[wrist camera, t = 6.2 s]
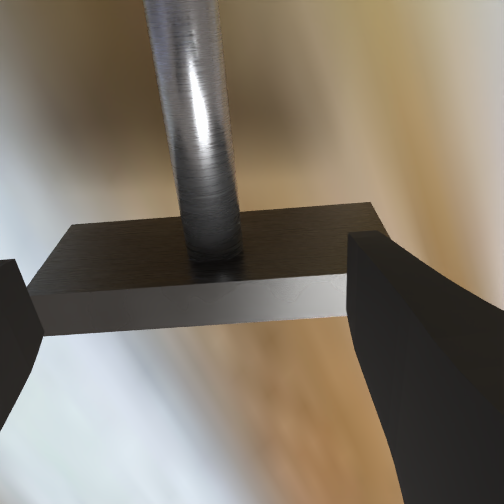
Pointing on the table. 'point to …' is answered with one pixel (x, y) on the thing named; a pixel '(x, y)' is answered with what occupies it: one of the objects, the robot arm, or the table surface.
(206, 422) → the table surface
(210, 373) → the table surface
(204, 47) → the shaft
